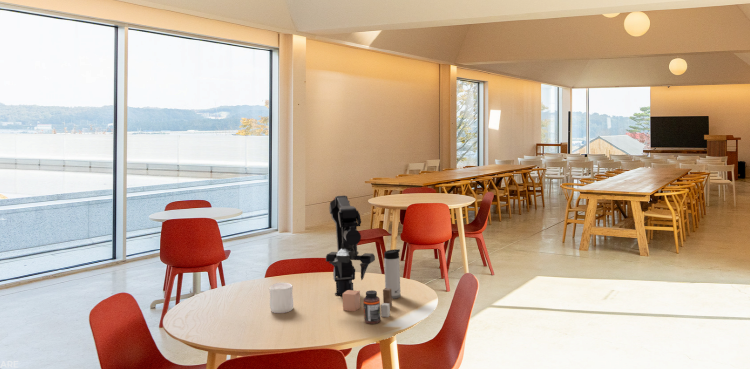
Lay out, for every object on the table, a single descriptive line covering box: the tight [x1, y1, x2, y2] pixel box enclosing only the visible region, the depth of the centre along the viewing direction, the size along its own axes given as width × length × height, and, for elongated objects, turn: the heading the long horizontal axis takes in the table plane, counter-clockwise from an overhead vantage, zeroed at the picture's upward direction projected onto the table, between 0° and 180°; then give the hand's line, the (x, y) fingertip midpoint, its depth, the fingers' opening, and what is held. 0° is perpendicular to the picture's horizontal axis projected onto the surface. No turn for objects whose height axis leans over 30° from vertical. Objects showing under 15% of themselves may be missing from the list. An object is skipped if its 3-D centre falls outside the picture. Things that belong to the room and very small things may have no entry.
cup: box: [268, 282, 294, 314], centre depth 231 cm, size 10×10×10 cm
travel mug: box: [383, 248, 401, 300], centre depth 242 cm, size 6×7×20 cm
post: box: [382, 288, 393, 308], centre depth 230 cm, size 3×3×7 cm
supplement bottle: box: [363, 289, 381, 325], centre depth 213 cm, size 6×6×11 cm
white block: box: [380, 303, 391, 318], centre depth 219 cm, size 3×3×4 cm
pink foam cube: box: [341, 289, 361, 312], centre depth 229 cm, size 5×5×7 cm
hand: (351, 279), depth 228 cm, fingers open, 9 cm apart
